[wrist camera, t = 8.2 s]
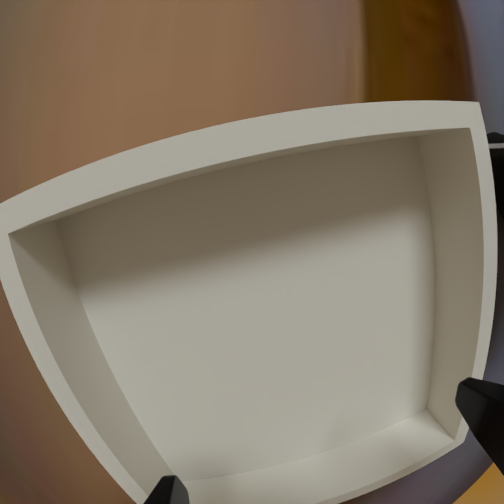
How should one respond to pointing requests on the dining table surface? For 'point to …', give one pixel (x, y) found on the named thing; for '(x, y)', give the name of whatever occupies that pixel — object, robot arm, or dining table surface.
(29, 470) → the dining table surface
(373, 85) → the dining table surface
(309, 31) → the dining table surface
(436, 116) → the open box
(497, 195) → the battery charger
